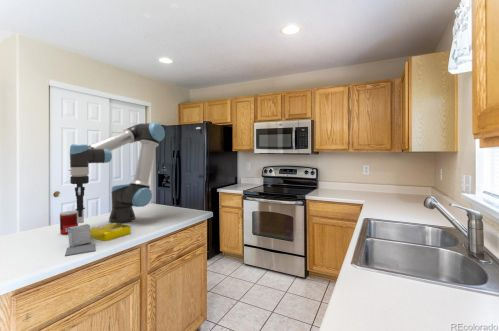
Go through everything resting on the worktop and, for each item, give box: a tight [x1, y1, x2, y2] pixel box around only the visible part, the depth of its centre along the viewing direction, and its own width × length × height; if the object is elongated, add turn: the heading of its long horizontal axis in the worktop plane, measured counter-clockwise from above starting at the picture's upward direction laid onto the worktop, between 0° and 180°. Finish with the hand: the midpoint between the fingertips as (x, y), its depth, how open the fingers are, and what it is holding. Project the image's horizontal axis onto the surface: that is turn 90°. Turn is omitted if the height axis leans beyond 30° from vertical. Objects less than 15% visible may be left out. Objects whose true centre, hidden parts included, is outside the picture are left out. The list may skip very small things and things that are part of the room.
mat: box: [64, 243, 96, 257], centre depth 113 cm, size 11×10×1 cm
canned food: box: [59, 210, 79, 236], centre depth 137 cm, size 8×8×11 cm
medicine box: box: [67, 223, 92, 247], centre depth 119 cm, size 8×4×9 cm, turn 141°
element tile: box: [90, 223, 132, 242], centre depth 135 cm, size 15×15×5 cm
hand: (80, 222), depth 126 cm, fingers closed
